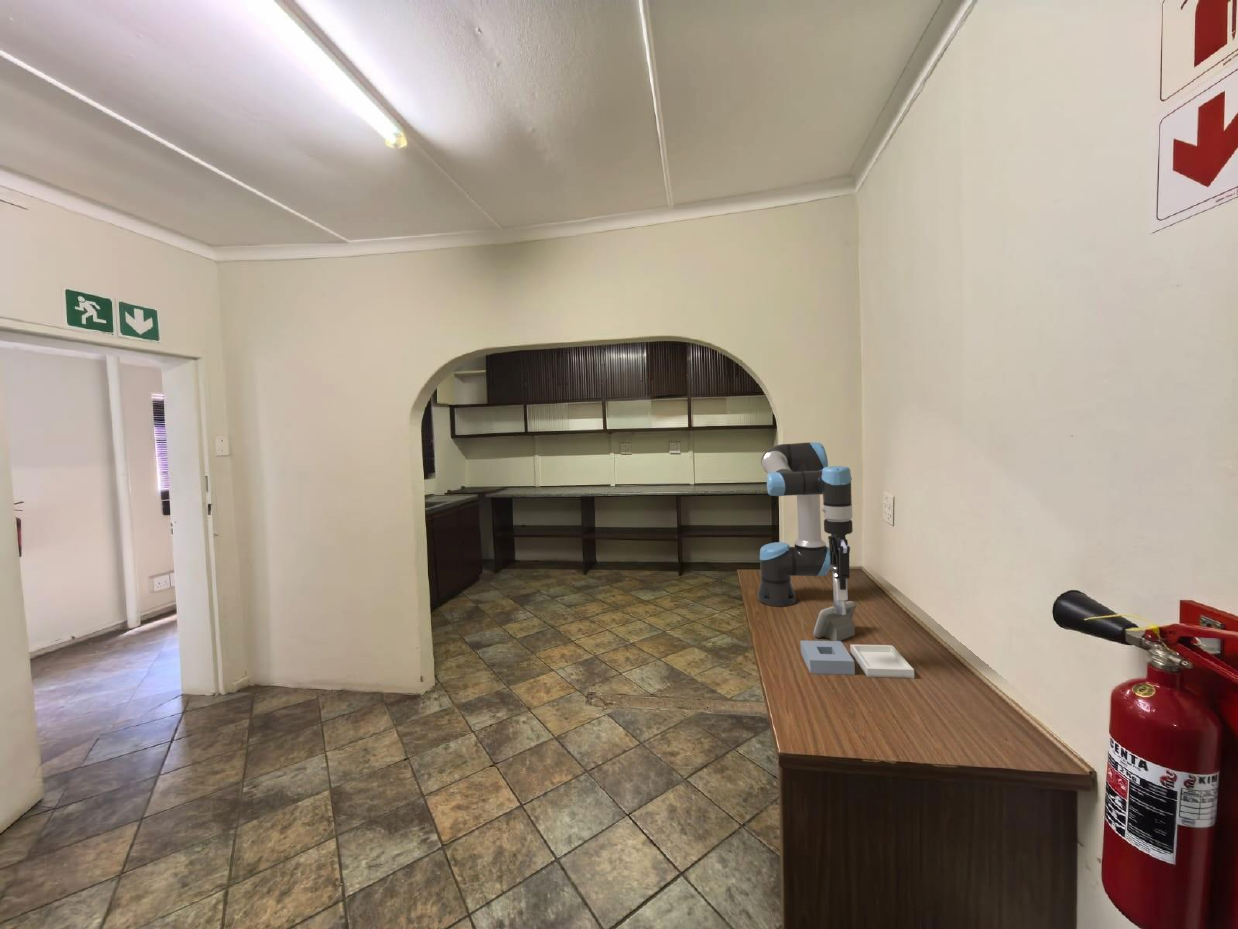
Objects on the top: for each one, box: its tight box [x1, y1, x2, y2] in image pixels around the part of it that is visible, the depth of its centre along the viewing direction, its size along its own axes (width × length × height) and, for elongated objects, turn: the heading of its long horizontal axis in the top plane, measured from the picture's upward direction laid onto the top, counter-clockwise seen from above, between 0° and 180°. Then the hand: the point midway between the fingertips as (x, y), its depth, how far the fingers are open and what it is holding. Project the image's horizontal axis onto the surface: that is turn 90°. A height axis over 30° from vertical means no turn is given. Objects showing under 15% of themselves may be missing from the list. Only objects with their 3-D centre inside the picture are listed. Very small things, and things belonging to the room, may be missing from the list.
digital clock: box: [813, 600, 857, 642], centre depth 149 cm, size 16×9×11 cm, turn 103°
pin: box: [829, 564, 847, 615], centre depth 130 cm, size 4×4×14 cm
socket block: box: [800, 640, 856, 676], centre depth 132 cm, size 12×12×4 cm
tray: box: [849, 644, 915, 679], centre depth 130 cm, size 14×12×2 cm
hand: (840, 596), depth 130 cm, fingers closed on pin, 3 cm apart
